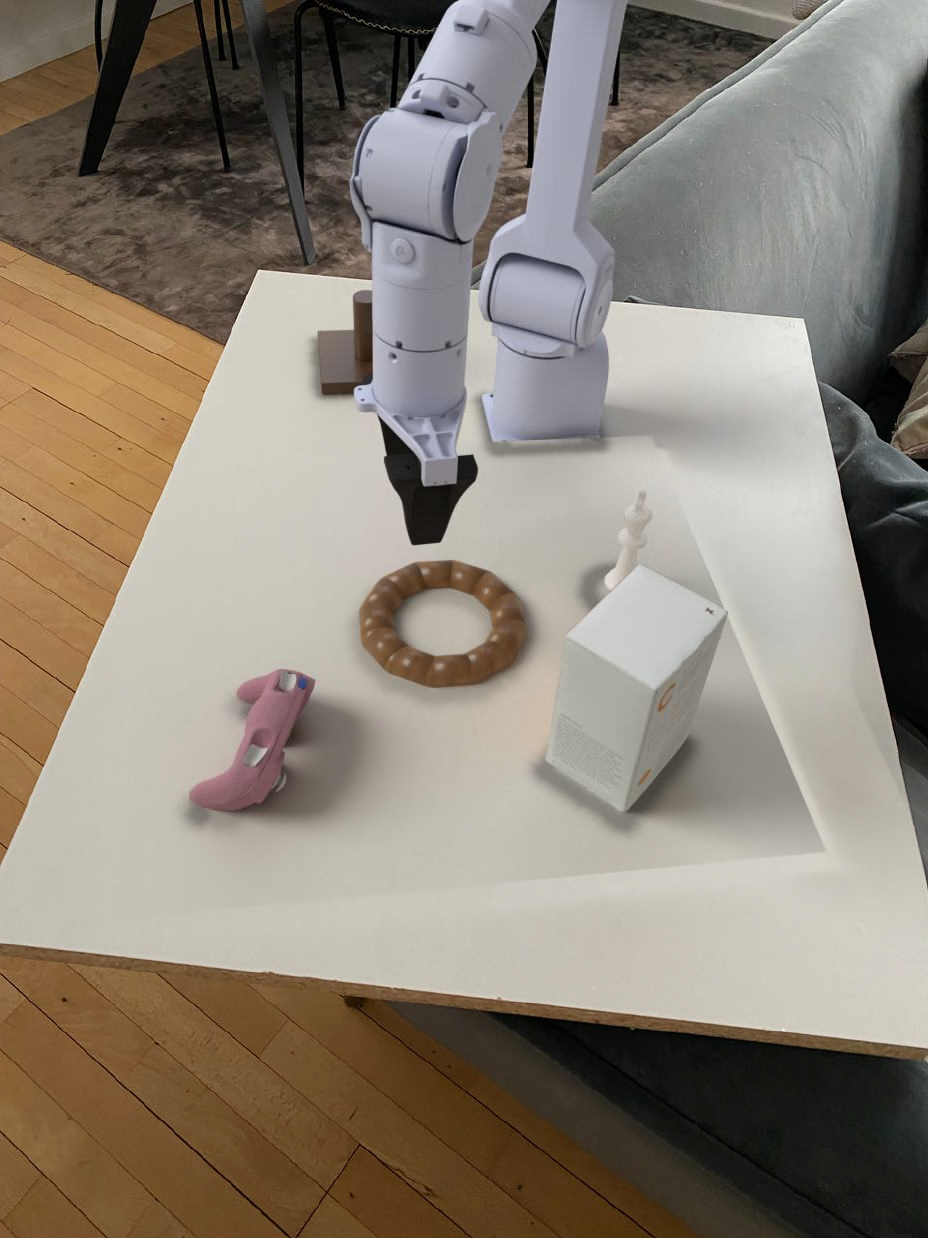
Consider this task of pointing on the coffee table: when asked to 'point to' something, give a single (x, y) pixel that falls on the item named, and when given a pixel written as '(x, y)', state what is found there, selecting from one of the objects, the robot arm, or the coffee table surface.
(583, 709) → the small box
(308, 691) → the video game controller
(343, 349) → the peg stand
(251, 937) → the coffee table surface
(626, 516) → the chess piece
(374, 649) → the segmented brown ring
